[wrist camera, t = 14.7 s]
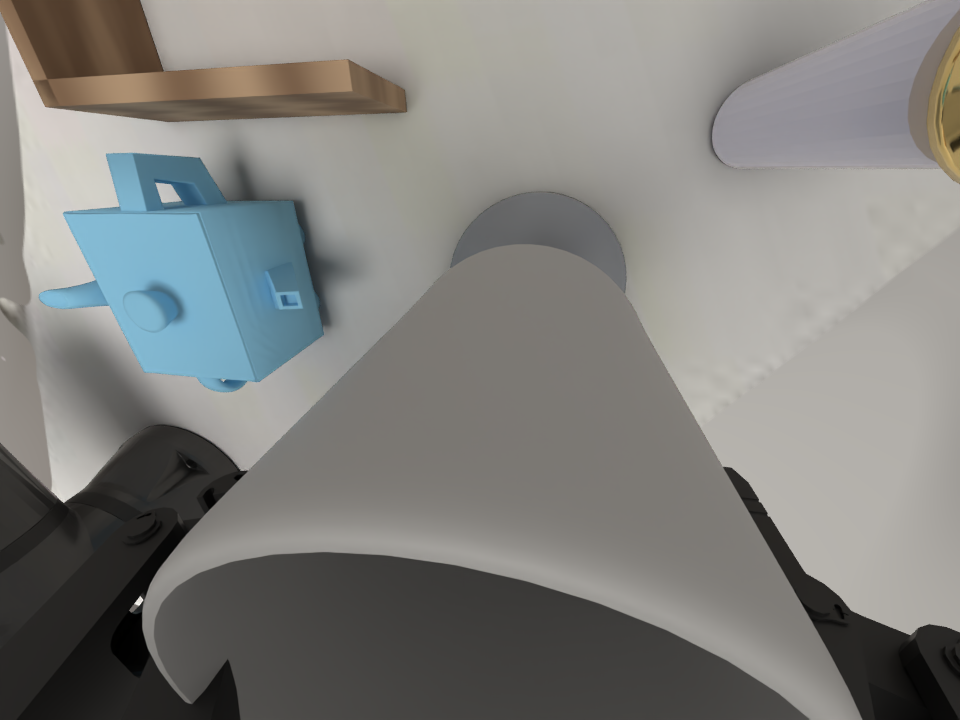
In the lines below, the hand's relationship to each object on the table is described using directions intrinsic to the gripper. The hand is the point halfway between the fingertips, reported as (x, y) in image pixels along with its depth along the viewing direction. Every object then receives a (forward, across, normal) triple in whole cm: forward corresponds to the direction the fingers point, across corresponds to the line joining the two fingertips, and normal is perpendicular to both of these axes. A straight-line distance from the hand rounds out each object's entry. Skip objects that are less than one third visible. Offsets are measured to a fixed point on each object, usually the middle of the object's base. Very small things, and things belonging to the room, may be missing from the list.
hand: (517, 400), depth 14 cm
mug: (+1, -1, 0) cm, 1 cm away
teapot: (+16, -23, +1) cm, 28 cm away
